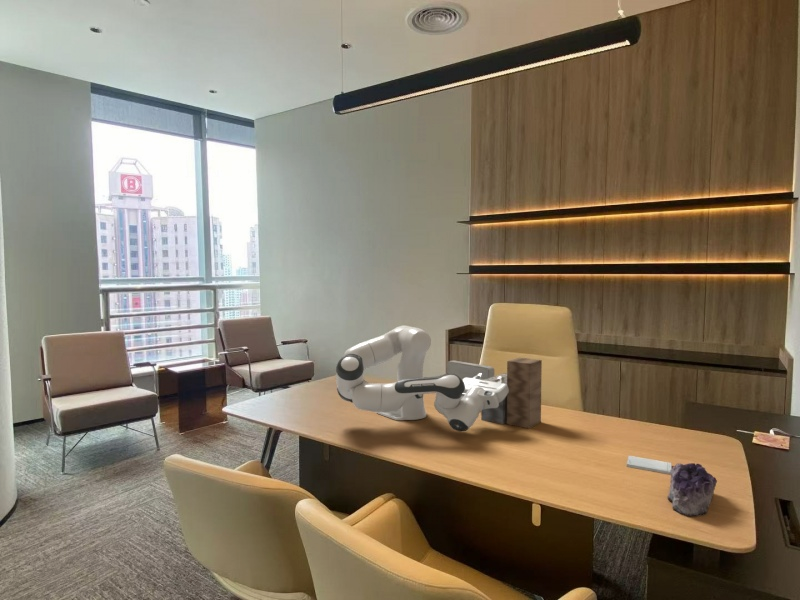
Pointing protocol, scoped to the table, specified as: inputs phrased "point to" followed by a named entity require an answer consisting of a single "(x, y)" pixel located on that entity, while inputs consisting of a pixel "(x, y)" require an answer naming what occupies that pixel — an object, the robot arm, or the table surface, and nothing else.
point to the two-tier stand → (519, 395)
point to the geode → (691, 489)
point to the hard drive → (649, 464)
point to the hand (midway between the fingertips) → (491, 375)
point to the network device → (469, 370)
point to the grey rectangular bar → (496, 379)
